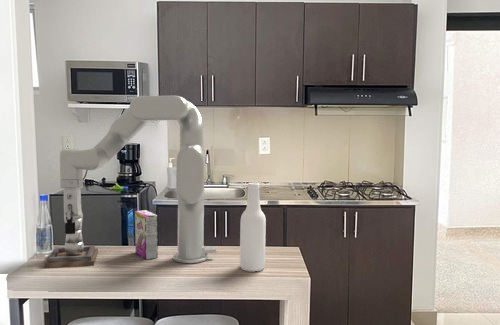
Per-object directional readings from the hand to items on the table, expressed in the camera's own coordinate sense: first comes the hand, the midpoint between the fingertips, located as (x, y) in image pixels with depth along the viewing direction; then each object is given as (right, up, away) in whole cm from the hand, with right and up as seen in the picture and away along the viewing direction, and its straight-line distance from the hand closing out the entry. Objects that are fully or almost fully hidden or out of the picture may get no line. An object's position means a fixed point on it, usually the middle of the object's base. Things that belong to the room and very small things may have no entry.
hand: (72, 230), depth 166 cm
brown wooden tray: (0, -11, +1) cm, 11 cm away
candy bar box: (+25, -11, +8) cm, 28 cm away
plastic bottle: (0, -9, +2) cm, 10 cm away
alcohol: (+65, -13, -5) cm, 66 cm away
